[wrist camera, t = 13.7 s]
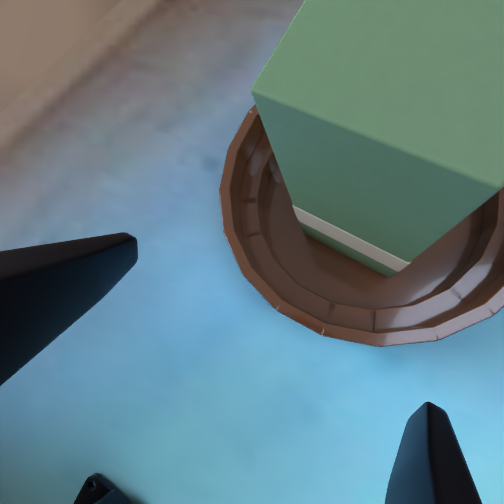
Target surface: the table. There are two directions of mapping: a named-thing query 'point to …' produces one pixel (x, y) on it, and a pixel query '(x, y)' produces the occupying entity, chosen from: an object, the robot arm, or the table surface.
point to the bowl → (350, 271)
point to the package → (387, 121)
